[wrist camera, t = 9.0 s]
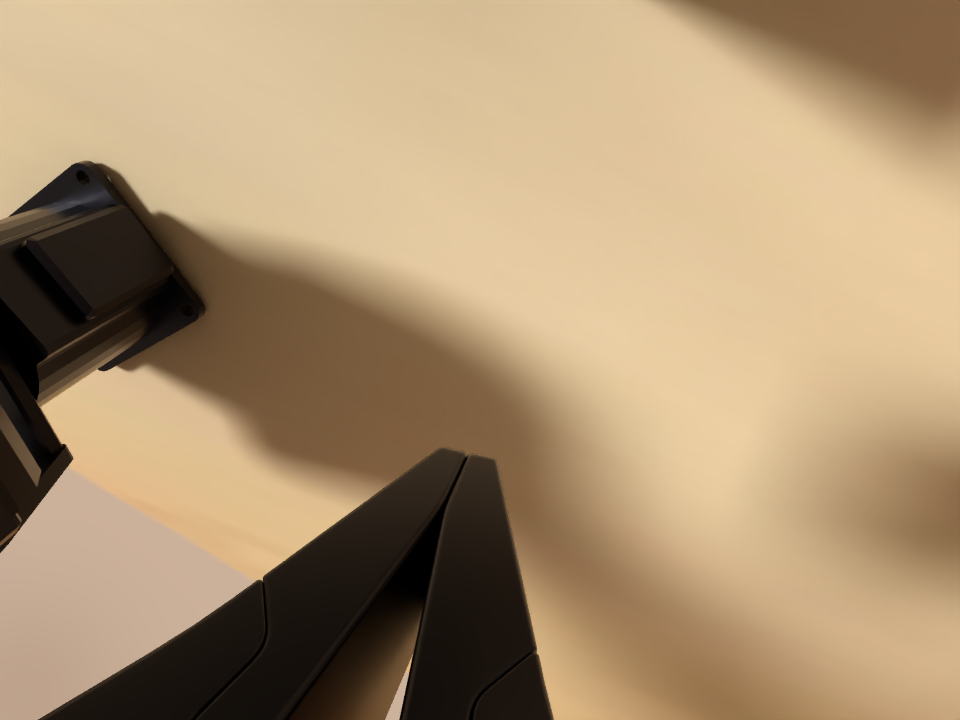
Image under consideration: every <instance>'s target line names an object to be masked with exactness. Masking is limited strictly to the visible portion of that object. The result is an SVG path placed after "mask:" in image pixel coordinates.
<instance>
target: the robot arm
mask: <svg viewBox="0 0 960 720" xmlns="http://www.w3.org/2000/svg"><path fill="white" fill-rule="evenodd" d="M85 173H86V174H87V175H88V176H89V179H90V181H89V180H88V179H87V178H86V176H85ZM187 305H189V306H190V307H191V308H192V310H193V311H191V310H190V309H189V308H188V306H187ZM204 313H205V305H204V304H203V302H202V300H201V299H200V298H199V296H198V295H197V294H196V292H195V291H194V290H193V289H192V287H191V286H190V285H189V283H188V282H187V281H186V279H185V278H184V277H183V276H182V274H181V273H180V272H179V270H178V269H177V268H176V266H175V265H174V264H173V263H172V261H171V260H170V259H169V257H168V256H167V255H166V253H165V252H164V251H163V250H162V248H161V247H160V246H159V244H158V243H157V242H156V240H155V239H154V238H153V237H152V235H151V234H150V233H149V231H148V230H147V229H146V228H145V226H144V225H143V224H142V222H141V221H140V220H139V218H138V217H137V216H136V215H135V213H134V212H133V211H132V209H131V208H130V207H129V205H128V204H127V203H126V202H125V200H124V199H123V198H122V196H121V195H120V194H119V192H118V191H117V190H116V189H115V187H114V186H113V185H112V183H111V182H110V181H109V179H108V178H107V177H106V176H105V174H104V173H103V172H102V170H101V169H100V168H99V167H98V166H97V165H96V164H94V163H93V162H91V161H82V162H79V163H75V164H73V165H71V166H70V167H69V168H68V169H67V170H65V171H64V172H63V173H62V174H60V175H59V176H58V177H57V178H56V179H54V180H53V181H52V182H51V183H49V184H48V185H47V186H46V187H44V188H43V189H42V190H41V191H40V192H38V193H37V194H36V195H35V196H33V197H32V198H31V199H30V200H28V201H27V202H26V203H25V204H24V205H22V206H21V207H20V208H19V209H17V210H16V211H15V212H14V213H13V214H11V215H10V216H9V217H8V218H5V219H2V220H0V553H1V551H3V549H4V548H5V547H6V546H7V545H8V544H9V543H10V541H11V540H12V539H13V537H14V536H15V535H16V533H17V532H18V531H19V530H20V528H21V527H22V526H23V524H24V523H25V522H26V520H27V519H28V518H29V516H30V515H31V514H32V513H33V511H34V510H35V509H36V507H37V506H38V505H39V503H40V502H41V501H42V499H43V498H44V497H45V496H46V494H47V493H48V491H49V490H50V489H51V487H52V486H53V485H54V484H55V482H56V481H57V480H58V478H59V477H60V476H61V475H62V473H63V472H64V471H65V469H66V468H67V467H68V465H69V464H70V463H71V462H72V460H73V456H72V455H71V453H70V451H69V450H68V448H67V446H66V444H61V442H60V440H59V439H58V437H57V435H56V433H55V432H54V430H53V428H52V426H51V425H50V423H49V421H48V420H47V418H46V416H45V414H44V413H43V411H42V409H41V406H43V405H44V404H46V403H47V402H49V401H50V400H52V399H53V398H55V397H56V396H58V395H59V394H61V393H62V392H64V391H65V390H67V389H68V388H70V387H71V386H73V385H74V384H76V383H77V382H79V381H80V380H82V379H83V378H85V377H86V376H88V375H89V374H91V373H92V372H94V371H95V370H97V369H98V370H100V371H107V370H109V369H111V368H113V367H115V366H116V365H118V364H120V363H122V362H123V361H125V360H127V359H129V358H131V357H132V356H134V355H136V354H138V353H139V352H141V351H143V350H145V349H147V348H148V347H150V346H152V345H154V344H156V343H157V342H159V341H161V340H163V339H164V338H166V337H168V336H170V335H172V334H173V333H175V332H177V331H179V330H180V329H182V328H184V327H186V326H188V325H189V324H191V323H193V322H195V321H196V320H198V319H199V318H200V317H202V316H203V315H204ZM413 652H414V653H413ZM536 652H537V646H536V641H535V637H534V632H533V627H532V623H531V618H530V613H529V609H528V604H527V599H526V594H525V590H524V585H523V580H522V576H521V571H520V566H519V562H518V557H517V552H516V548H515V543H514V538H513V533H512V529H511V524H510V519H509V515H508V510H507V505H506V501H505V496H504V491H503V487H502V482H501V477H500V472H499V468H498V463H497V461H496V459H494V458H492V457H488V456H483V455H479V454H474V453H472V454H470V455H469V456H468V455H467V453H466V452H464V451H461V450H456V449H452V448H447V447H441V448H438V449H437V450H435V451H434V452H433V453H431V454H430V455H429V456H427V457H426V458H425V459H423V460H422V461H420V462H419V463H418V464H416V465H415V466H414V467H412V468H411V469H409V470H408V471H407V472H405V473H404V474H403V475H401V476H400V477H398V478H397V479H396V480H394V481H393V482H392V483H390V484H389V485H388V486H386V487H385V488H383V489H382V490H381V491H379V492H378V493H377V494H375V495H374V496H372V497H371V498H370V499H368V500H367V501H366V502H364V503H363V504H362V505H360V506H359V507H357V508H356V509H355V510H353V511H352V512H351V513H349V514H348V515H346V516H345V517H344V518H342V519H341V520H340V521H338V522H337V523H335V524H334V525H333V526H331V527H330V528H329V529H327V530H326V531H325V532H323V533H322V534H320V535H319V536H318V537H316V538H315V539H314V540H312V541H311V542H309V543H308V544H307V545H305V546H304V547H303V548H301V549H300V550H298V551H297V552H296V553H294V554H293V555H292V556H290V557H289V558H288V559H286V560H285V561H283V562H282V563H281V564H279V565H278V566H277V567H275V568H274V569H272V570H271V571H270V572H268V573H267V574H266V575H264V577H263V581H262V580H257V581H256V582H254V583H253V584H252V585H250V586H249V587H247V588H246V589H245V590H243V591H242V592H241V593H239V594H238V595H236V596H235V597H234V598H233V599H231V600H229V601H228V602H226V603H225V604H224V605H222V606H221V607H219V608H218V609H216V610H215V611H214V612H212V613H211V614H209V615H208V616H206V617H205V618H203V619H202V620H201V621H199V622H198V623H196V624H195V625H193V626H192V627H190V628H188V629H187V630H185V631H184V632H182V633H180V634H179V635H177V636H176V637H174V638H172V639H171V640H169V641H168V642H166V643H165V644H163V645H161V646H160V647H158V648H156V649H155V650H153V651H152V652H150V653H149V654H147V655H145V656H144V657H142V658H140V659H139V660H137V661H135V662H134V663H132V664H130V665H129V666H127V667H125V668H124V669H122V670H120V671H119V672H117V673H115V674H114V675H112V676H110V677H109V678H107V679H105V680H104V681H102V682H100V683H99V684H97V685H96V686H93V687H92V688H90V689H88V690H87V691H85V692H84V693H82V694H80V695H78V696H77V697H75V698H73V699H72V700H70V701H69V702H67V703H65V704H63V705H62V706H60V707H59V708H57V709H55V710H53V711H52V712H50V713H48V714H47V715H45V716H43V717H42V718H40V719H38V720H385V718H386V716H387V714H388V711H389V709H390V706H391V704H392V702H393V699H394V697H395V695H396V692H397V690H398V687H399V685H400V683H401V680H402V678H403V676H404V673H405V671H406V669H407V666H408V664H409V661H410V659H411V657H412V654H413V657H412V662H411V667H410V672H409V677H408V682H407V686H406V691H405V696H404V701H403V705H402V710H401V715H400V719H399V720H554V718H553V714H552V710H551V706H550V702H549V698H548V694H547V690H546V686H545V682H544V677H543V673H542V668H541V663H540V659H539V655H538V654H537V653H536Z"/></svg>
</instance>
